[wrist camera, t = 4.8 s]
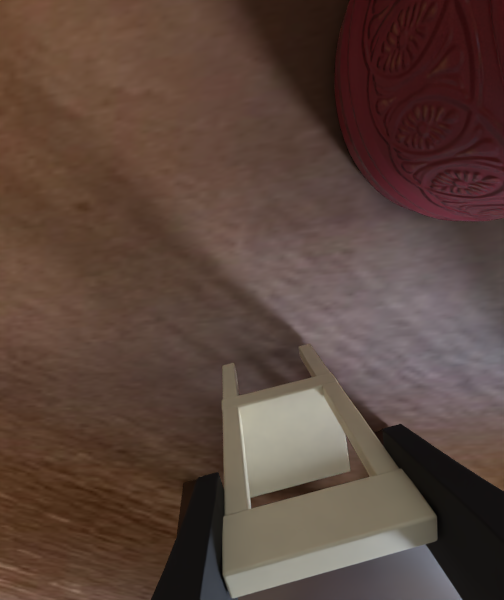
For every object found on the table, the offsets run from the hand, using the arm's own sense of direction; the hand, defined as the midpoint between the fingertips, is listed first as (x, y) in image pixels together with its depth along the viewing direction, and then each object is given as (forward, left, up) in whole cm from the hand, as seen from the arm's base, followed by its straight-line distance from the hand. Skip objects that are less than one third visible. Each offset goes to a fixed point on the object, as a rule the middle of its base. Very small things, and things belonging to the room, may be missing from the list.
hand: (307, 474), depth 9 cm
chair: (-2, 0, -8) cm, 8 cm away
